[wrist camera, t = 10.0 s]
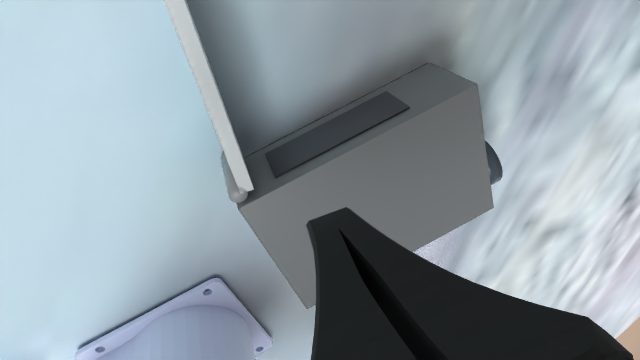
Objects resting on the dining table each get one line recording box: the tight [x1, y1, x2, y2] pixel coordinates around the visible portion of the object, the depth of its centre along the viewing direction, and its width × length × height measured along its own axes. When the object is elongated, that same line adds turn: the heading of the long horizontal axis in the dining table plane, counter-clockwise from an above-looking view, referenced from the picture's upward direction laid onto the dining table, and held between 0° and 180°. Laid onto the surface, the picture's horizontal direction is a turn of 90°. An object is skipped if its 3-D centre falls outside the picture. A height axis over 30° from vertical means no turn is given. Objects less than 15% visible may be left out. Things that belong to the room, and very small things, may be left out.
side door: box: [164, 0, 254, 203], centre depth 14 cm, size 15×1×4 cm, turn 12°
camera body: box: [237, 63, 502, 309], centre depth 21 cm, size 13×8×5 cm, turn 112°
